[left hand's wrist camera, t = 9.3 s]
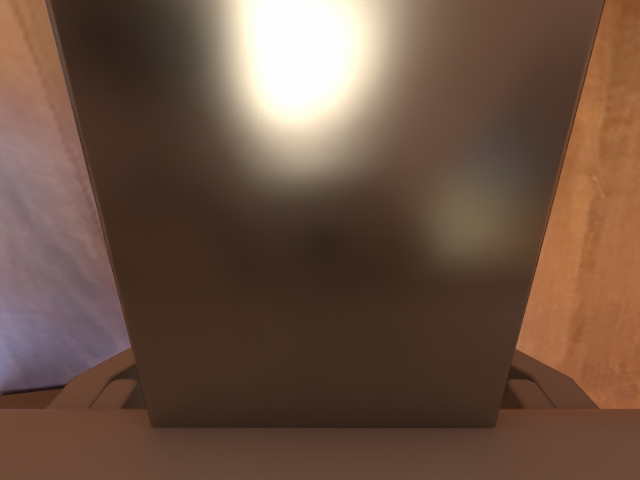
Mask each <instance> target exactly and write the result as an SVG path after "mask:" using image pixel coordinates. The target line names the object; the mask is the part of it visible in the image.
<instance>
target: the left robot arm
mask: <svg viewBox="0 0 640 480" xmlns="http://www.w3.org/2000/svg"><path fill="white" fill-rule="evenodd" d="M0 480H640V409H600V408H599V407H598V406H597V405H596V404H595V403H594V402H593V401H592V400H591V399H590V398H589V397H588V395H587V394H586V393H585V392H584V391H583V390H582V389H581V388H580V387H579V386H578V385H577V384H576V382H575V381H574V380H573V379H572V378H570V377H568V376H566V375H564V374H562V373H561V372H559V371H557V370H555V369H553V368H551V367H549V366H547V365H545V364H543V363H542V362H540V361H538V360H536V359H534V358H532V357H530V356H528V355H526V354H524V353H522V352H521V351H519V350H517V349H515V352H514V356H513V360H512V364H511V368H510V372H509V376H508V379H507V383H506V387H505V391H504V395H503V399H502V403H501V406H500V410H499V414H498V418H497V422H496V426H495V427H494V428H154V427H152V426H151V424H150V420H149V415H148V411H147V407H146V403H145V399H144V395H143V391H142V387H141V383H140V379H139V375H138V371H137V367H136V363H135V359H134V355H133V351H132V347H131V348H129V349H127V350H125V351H123V352H121V353H119V354H118V355H116V356H114V357H112V358H110V359H108V360H106V361H104V362H102V363H101V364H99V365H97V366H95V367H93V368H91V369H89V370H87V371H85V372H83V373H82V374H80V375H78V376H76V377H74V378H73V379H72V380H71V381H70V382H69V383H68V384H67V385H66V386H65V388H64V389H63V390H62V391H61V392H60V393H59V394H58V395H57V396H56V397H55V399H54V400H53V401H52V402H51V403H50V404H49V405H48V406H47V407H46V408H45V409H0Z"/></svg>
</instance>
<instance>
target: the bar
mask: <svg viewBox="0 0 640 480" xmlns="http://www.w3.org/2000/svg"><path fill="white" fill-rule="evenodd" d="M45 1H46V5H47V9H48V13H49V17H50V21H51V25H52V29H53V33H54V37H55V41H56V45H57V49H58V54H59V58H60V62H61V66H62V70H63V74H64V78H65V82H66V86H67V90H68V94H69V98H70V102H71V106H72V110H73V114H74V118H75V122H76V126H77V130H78V134H79V138H80V142H81V146H82V150H83V154H84V158H85V162H86V166H87V170H88V174H89V178H90V182H91V186H92V190H93V194H94V198H95V202H96V206H97V210H98V214H99V218H100V222H101V226H102V230H103V235H104V239H105V243H106V247H107V251H108V255H109V259H110V263H111V267H112V271H113V275H114V279H115V283H116V287H117V291H118V295H119V299H120V303H121V307H122V311H123V315H124V319H125V323H126V327H127V331H128V335H129V339H130V343H131V347H132V351H133V355H134V359H135V363H136V367H137V371H138V375H139V379H140V383H141V387H142V391H143V395H144V399H145V403H146V407H147V411H148V415H149V420H150V424H151V426H152V427H154V428H494V427H495V426H496V422H497V418H498V414H499V410H500V406H501V403H502V399H503V395H504V391H505V387H506V383H507V379H508V376H509V372H510V368H511V364H512V360H513V356H514V352H515V348H516V345H517V341H518V337H519V333H520V329H521V325H522V321H523V317H524V314H525V310H526V306H527V302H528V298H529V294H530V290H531V286H532V283H533V279H534V275H535V271H536V267H537V263H538V259H539V255H540V252H541V248H542V244H543V240H544V236H545V232H546V228H547V225H548V221H549V217H550V213H551V209H552V205H553V201H554V197H555V194H556V190H557V186H558V182H559V178H560V174H561V170H562V166H563V163H564V159H565V155H566V151H567V147H568V143H569V139H570V135H571V132H572V128H573V124H574V120H575V116H576V112H577V108H578V105H579V101H580V97H581V93H582V89H583V85H584V81H585V77H586V74H587V70H588V66H589V62H590V58H591V54H592V50H593V46H594V43H595V39H596V35H597V31H598V27H599V23H600V19H601V15H602V12H603V8H604V4H605V0H45Z"/></svg>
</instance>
